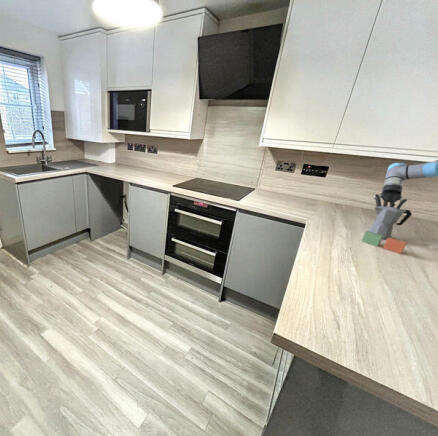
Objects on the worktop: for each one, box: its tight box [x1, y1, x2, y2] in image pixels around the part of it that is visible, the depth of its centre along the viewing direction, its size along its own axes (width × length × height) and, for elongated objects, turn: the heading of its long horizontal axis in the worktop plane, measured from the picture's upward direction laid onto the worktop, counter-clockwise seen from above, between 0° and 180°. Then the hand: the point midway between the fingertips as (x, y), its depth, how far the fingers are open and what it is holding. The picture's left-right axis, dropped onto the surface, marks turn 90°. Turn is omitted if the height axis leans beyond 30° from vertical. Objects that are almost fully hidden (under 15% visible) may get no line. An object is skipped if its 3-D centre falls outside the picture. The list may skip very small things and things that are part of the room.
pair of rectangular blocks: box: [361, 230, 408, 255], centre depth 110 cm, size 14×3×5 cm, turn 33°
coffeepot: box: [368, 203, 413, 241], centre depth 119 cm, size 15×9×18 cm, turn 73°
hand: (384, 223), depth 124 cm, fingers closed
